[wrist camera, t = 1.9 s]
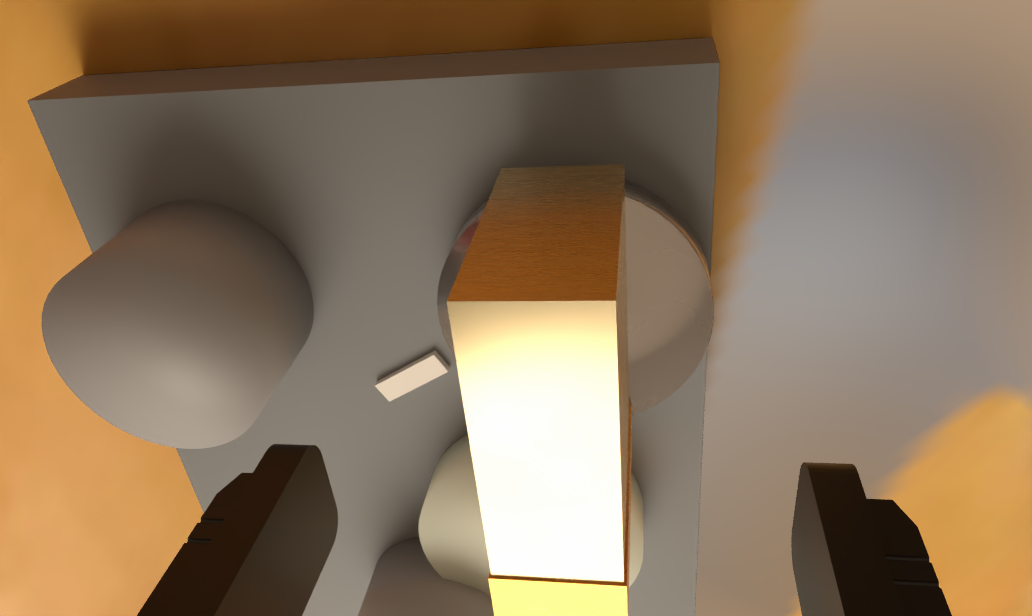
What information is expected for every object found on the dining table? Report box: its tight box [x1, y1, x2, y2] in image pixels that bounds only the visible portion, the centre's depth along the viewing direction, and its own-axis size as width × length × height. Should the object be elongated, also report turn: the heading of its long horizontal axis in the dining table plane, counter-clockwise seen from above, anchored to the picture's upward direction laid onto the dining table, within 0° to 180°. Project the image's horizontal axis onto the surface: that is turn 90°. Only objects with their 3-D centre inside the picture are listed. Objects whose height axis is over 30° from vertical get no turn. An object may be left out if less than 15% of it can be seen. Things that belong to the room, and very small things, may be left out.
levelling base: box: [28, 38, 720, 616], centre depth 21 cm, size 20×15×5 cm
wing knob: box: [437, 164, 714, 616], centre depth 15 cm, size 7×6×6 cm
